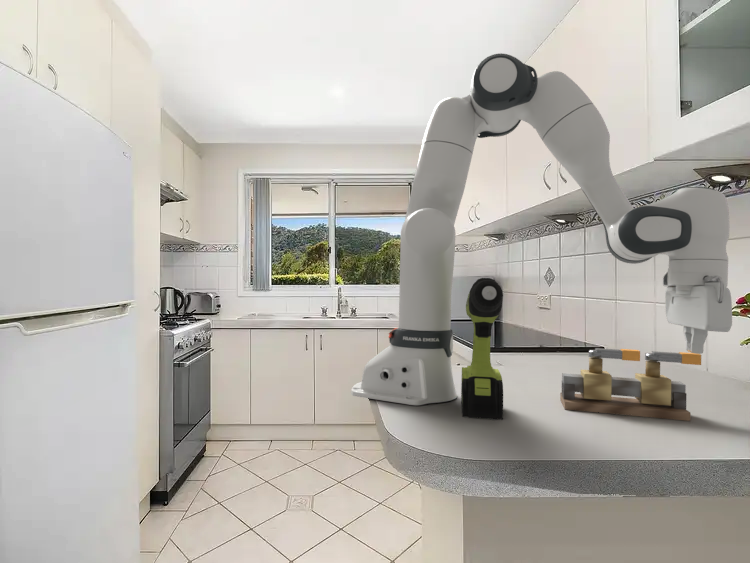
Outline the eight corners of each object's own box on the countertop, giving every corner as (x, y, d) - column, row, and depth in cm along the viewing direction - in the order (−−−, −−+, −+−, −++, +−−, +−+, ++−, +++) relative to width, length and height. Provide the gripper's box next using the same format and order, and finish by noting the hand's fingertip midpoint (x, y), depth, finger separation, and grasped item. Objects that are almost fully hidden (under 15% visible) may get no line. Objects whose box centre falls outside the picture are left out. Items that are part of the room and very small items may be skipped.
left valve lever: (589, 358, 88) (589, 348, 88) (587, 356, 91) (588, 346, 91) (640, 361, 85) (640, 351, 86) (637, 359, 88) (637, 349, 88)
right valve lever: (646, 361, 86) (646, 351, 86) (643, 359, 88) (643, 349, 88) (701, 365, 82) (701, 354, 83) (697, 363, 85) (697, 353, 85)
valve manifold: (564, 409, 87) (565, 359, 87) (560, 399, 95) (561, 353, 95) (690, 420, 81) (691, 367, 81) (674, 409, 89) (675, 360, 89)
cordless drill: (511, 439, 69) (514, 276, 69) (464, 436, 70) (467, 276, 70) (495, 402, 92) (498, 279, 92) (460, 399, 93) (463, 278, 93)
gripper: (746, 275, 71) (743, 363, 71) (695, 278, 91) (693, 347, 91) (699, 274, 73) (696, 359, 73) (659, 277, 92) (657, 344, 92)
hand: (694, 352), depth 82 cm, fingers closed
